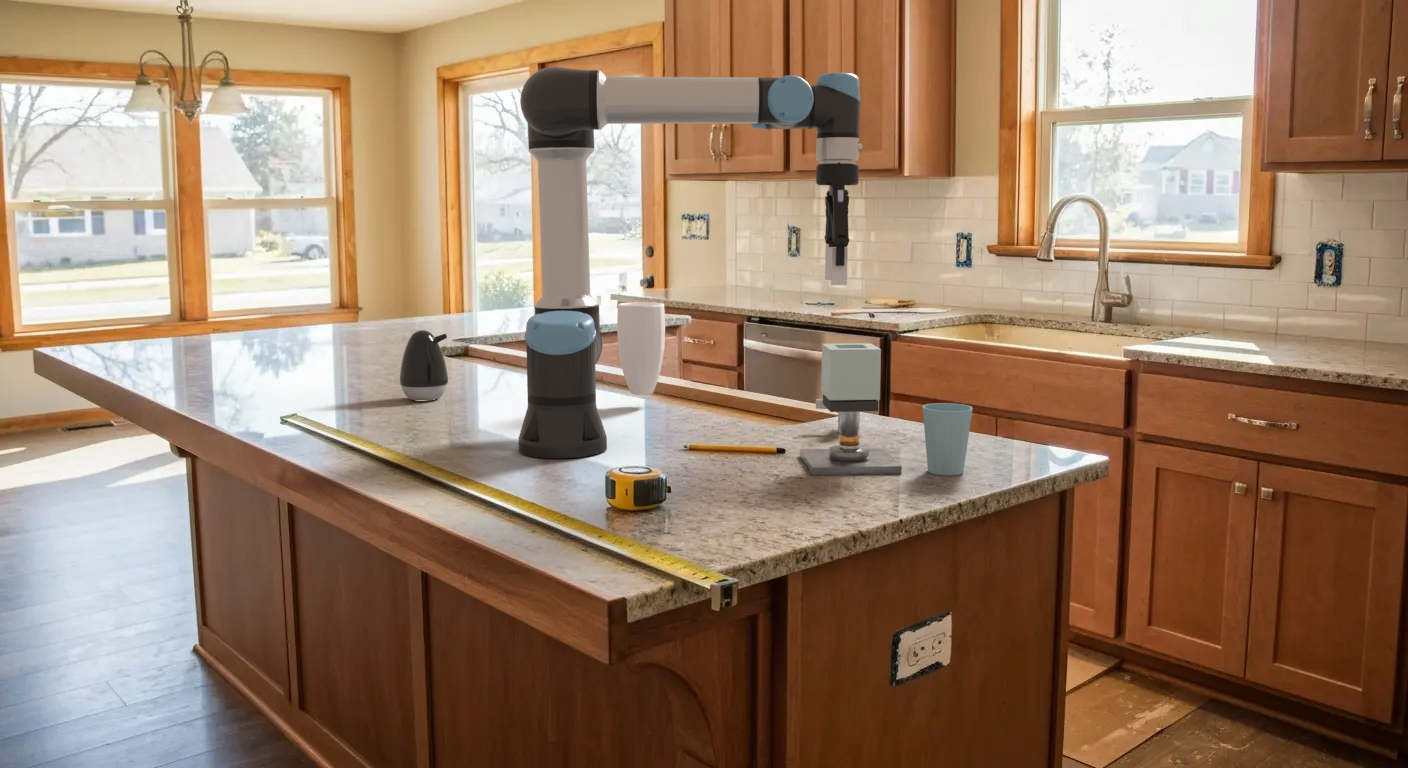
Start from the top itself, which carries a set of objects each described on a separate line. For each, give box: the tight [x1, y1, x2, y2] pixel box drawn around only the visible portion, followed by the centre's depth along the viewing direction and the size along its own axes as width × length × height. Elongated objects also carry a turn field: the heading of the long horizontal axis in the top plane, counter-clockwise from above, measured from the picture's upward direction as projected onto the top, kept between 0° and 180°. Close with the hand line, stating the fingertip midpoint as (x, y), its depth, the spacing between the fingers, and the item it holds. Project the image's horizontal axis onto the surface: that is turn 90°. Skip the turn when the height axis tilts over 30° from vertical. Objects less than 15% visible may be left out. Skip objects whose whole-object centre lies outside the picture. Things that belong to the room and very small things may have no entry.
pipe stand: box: [799, 412, 903, 476], centre depth 190 cm, size 14×14×14 cm
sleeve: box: [821, 342, 882, 401], centre depth 189 cm, size 8×8×8 cm
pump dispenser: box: [399, 329, 449, 401], centre depth 255 cm, size 10×10×15 cm
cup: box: [922, 402, 973, 477], centre depth 185 cm, size 8×8×10 cm
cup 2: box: [616, 301, 666, 396], centre depth 245 cm, size 10×10×22 cm
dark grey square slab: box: [822, 393, 879, 413], centre depth 190 cm, size 8×8×2 cm
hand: (835, 282), depth 213 cm, fingers open, 13 cm apart
